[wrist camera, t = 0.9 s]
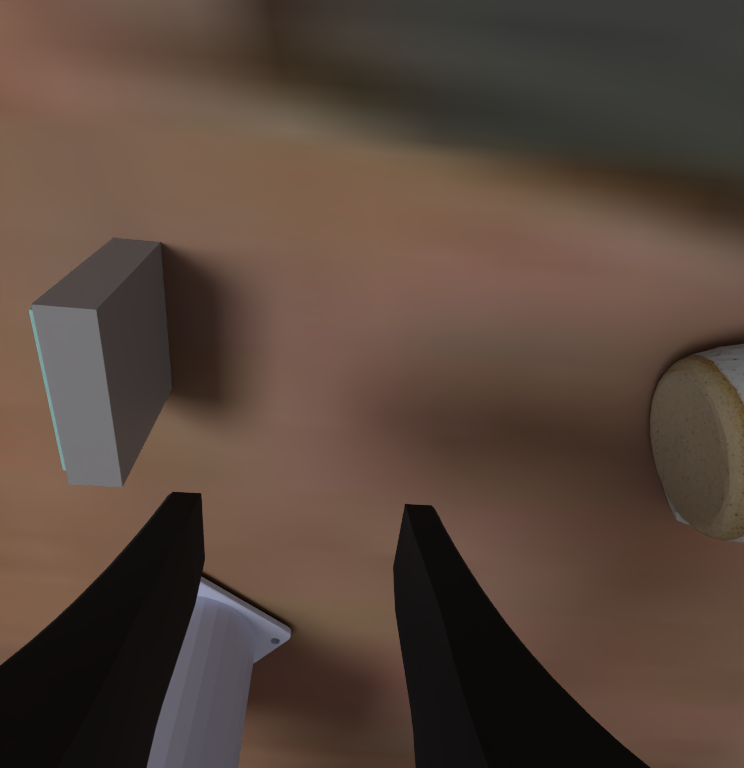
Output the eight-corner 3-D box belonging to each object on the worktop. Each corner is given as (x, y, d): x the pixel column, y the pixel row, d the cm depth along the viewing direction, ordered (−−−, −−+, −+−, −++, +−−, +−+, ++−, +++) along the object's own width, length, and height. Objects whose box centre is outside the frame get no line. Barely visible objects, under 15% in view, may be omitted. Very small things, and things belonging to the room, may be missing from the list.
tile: (160, 242, 20) (96, 309, 14) (172, 387, 23) (122, 487, 17) (105, 237, 19) (20, 303, 14) (125, 384, 22) (60, 483, 17)
